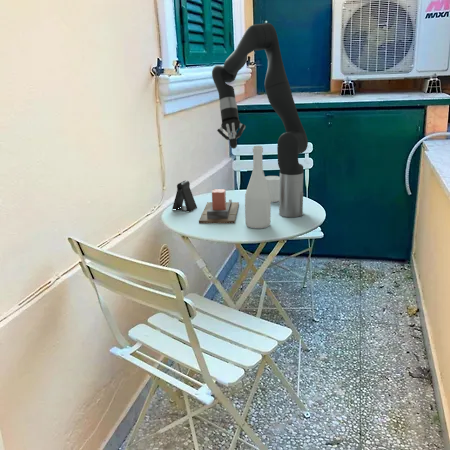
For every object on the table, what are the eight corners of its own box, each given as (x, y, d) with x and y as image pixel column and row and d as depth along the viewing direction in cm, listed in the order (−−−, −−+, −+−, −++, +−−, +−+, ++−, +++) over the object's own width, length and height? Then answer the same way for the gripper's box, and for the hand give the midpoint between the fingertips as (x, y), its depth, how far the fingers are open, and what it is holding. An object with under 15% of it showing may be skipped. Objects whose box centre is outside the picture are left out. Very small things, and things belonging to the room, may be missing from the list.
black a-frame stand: (197, 208, 192) (195, 181, 188) (190, 212, 187) (189, 184, 183) (178, 206, 196) (177, 179, 192) (172, 210, 190) (170, 182, 186)
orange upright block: (226, 210, 183) (225, 189, 181) (224, 213, 179) (224, 192, 176) (214, 210, 184) (213, 189, 181) (212, 213, 179) (211, 192, 176)
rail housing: (238, 204, 196) (238, 195, 194) (234, 223, 171) (234, 213, 170) (207, 204, 197) (207, 195, 196) (198, 223, 172) (198, 213, 171)
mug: (252, 200, 202) (252, 178, 198) (260, 196, 208) (260, 174, 205) (276, 203, 196) (276, 180, 192) (283, 198, 203) (284, 176, 199)
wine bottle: (247, 220, 174) (246, 144, 164) (271, 221, 172) (272, 144, 162) (243, 228, 165) (242, 148, 155) (269, 229, 163) (270, 148, 154)
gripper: (212, 110, 193) (217, 148, 191) (242, 104, 190) (247, 143, 189) (216, 115, 200) (221, 152, 199) (244, 109, 197) (250, 147, 196)
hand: (234, 148), depth 194 cm, fingers closed
